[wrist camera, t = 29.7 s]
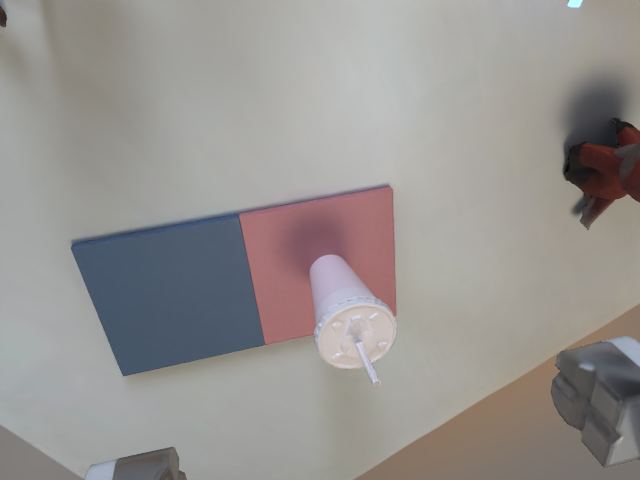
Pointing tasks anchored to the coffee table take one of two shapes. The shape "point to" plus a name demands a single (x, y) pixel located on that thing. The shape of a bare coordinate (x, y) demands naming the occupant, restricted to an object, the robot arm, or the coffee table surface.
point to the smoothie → (349, 318)
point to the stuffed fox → (606, 171)
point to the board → (231, 277)
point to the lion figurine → (2, 17)
